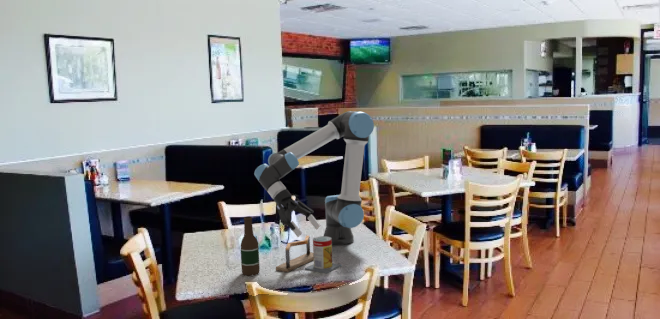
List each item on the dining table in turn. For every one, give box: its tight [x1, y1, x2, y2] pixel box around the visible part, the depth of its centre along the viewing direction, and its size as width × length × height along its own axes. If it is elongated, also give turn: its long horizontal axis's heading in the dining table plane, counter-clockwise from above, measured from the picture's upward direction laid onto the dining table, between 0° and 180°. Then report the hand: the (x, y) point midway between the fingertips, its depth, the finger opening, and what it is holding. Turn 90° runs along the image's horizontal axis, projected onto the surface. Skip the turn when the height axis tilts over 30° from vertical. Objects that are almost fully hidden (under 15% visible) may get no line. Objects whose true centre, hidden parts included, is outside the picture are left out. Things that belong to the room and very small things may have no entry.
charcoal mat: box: [304, 262, 342, 274], centre depth 242 cm, size 11×11×1 cm
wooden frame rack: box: [275, 235, 314, 273], centre depth 249 cm, size 24×6×10 cm, turn 146°
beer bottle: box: [240, 215, 261, 277], centre depth 237 cm, size 8×8×24 cm
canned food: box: [312, 235, 333, 269], centre depth 241 cm, size 8×8×12 cm
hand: (309, 231), depth 244 cm, fingers open, 13 cm apart
